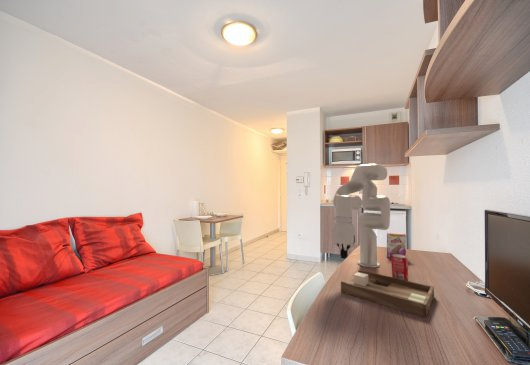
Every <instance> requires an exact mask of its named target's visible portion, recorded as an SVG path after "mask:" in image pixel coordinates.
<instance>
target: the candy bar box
mask: <svg viewBox="0 0 530 365" xmlns="http://www.w3.org/2000/svg"><path fill="white" fill-rule="evenodd" d="M406 237H407V235H406V233H401V232H400V233H399V232H389V231H387V232H386V257H387V258H390V259H392V255H393V254H401V255H405V256H407V255H406V254H407V251H406V250H407V247H406V245H407V244H406V243H407V242H406V240H407V238H406Z"/></svg>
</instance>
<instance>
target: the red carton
mask: <svg viewBox="0 0 530 365" xmlns="http://www.w3.org/2000/svg"><path fill="white" fill-rule="evenodd" d="M391 277H393V278H398V279H402V280H407V281H409V261H408V258H407V255H406V256H405V255H401V254H393V255H392V258H391Z"/></svg>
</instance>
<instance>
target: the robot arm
mask: <svg viewBox="0 0 530 365" xmlns="http://www.w3.org/2000/svg"><path fill="white" fill-rule="evenodd" d="M387 176H388V169H387V168H386V166H384V165H382V164H378V163H367V164H359V165H357V166H356V167H355V168H354V170H353V172H352V174H351V178H350V180H348V181H347V182H345V183H343V184H342V185H341V186H339V187H338V189H337V190H336V192H335V194H334V196H333V200H332V204H333V207H334V208H335V212H336V214H335V216H334V217H333V220H334V221H335V222H334V223H333V228H332V229H333V230H332V238H331V239H332V242H333V243H332V244H333V245H335V246H337V247H338V248H339V251H340V252H339V253H340V259H343V260H344V259H347V258H348V255H349V254H348V251H349V249H350V248H355V247H356V244H355V243H356V231H355V225H354V223H353V211H356V210H360V208H361V207H362V209H363V210H365V211H370V212H361V213H360V214H359V215H358V217H357V221H358V226H359V227H358V228H359V259H358V260H357V264H358V265H359V266H361V267H365V268H379V267H380V266H381V264H380V262H378V240H377V239H378V238H377V237H378V236H377V233H376V232H375V231H374V230H381V231H387V230H388V229H389V228H390V223H391V200H390V198H389V197H388V196H386V195H378V187H377V185H376V184H375V183H374V181H384V180H386V179H387ZM361 191H362V194H361V197H360V196H359V195H356V194H355V193H358V192H361ZM375 212H377V213H375ZM378 212H380V213H378Z"/></svg>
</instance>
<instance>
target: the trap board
mask: <svg viewBox="0 0 530 365" xmlns="http://www.w3.org/2000/svg"><path fill="white" fill-rule="evenodd" d="M357 272H359V273H364V274H368V284H367V285H366V286H362V285H358V284H354V277H352V279H351V280H349V281H348V282H346V281H341V282H340V292H341V293H343V294H346V295H350V296H353V297H357V298H360V299H363V300H366V301H371V302H374V303H376V304H381V305H383V306H387V307H389V308H393V309H397V310H401V311H404V312H407V313H410V314H413V315H416V314H417V316H420V317H423V318H427V317H428V313H429V311H430V308H431V306H432V303H433V300H434V298H435V286H433V285H428V284H423V283H420V282H416V281H415V282H414V281H411V280H408V281H407V280H402V279H398V278H393V277H392V276H387V275H384V274H380V273H374V272H370V271H366V270H361V269H358V270H357Z"/></svg>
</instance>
